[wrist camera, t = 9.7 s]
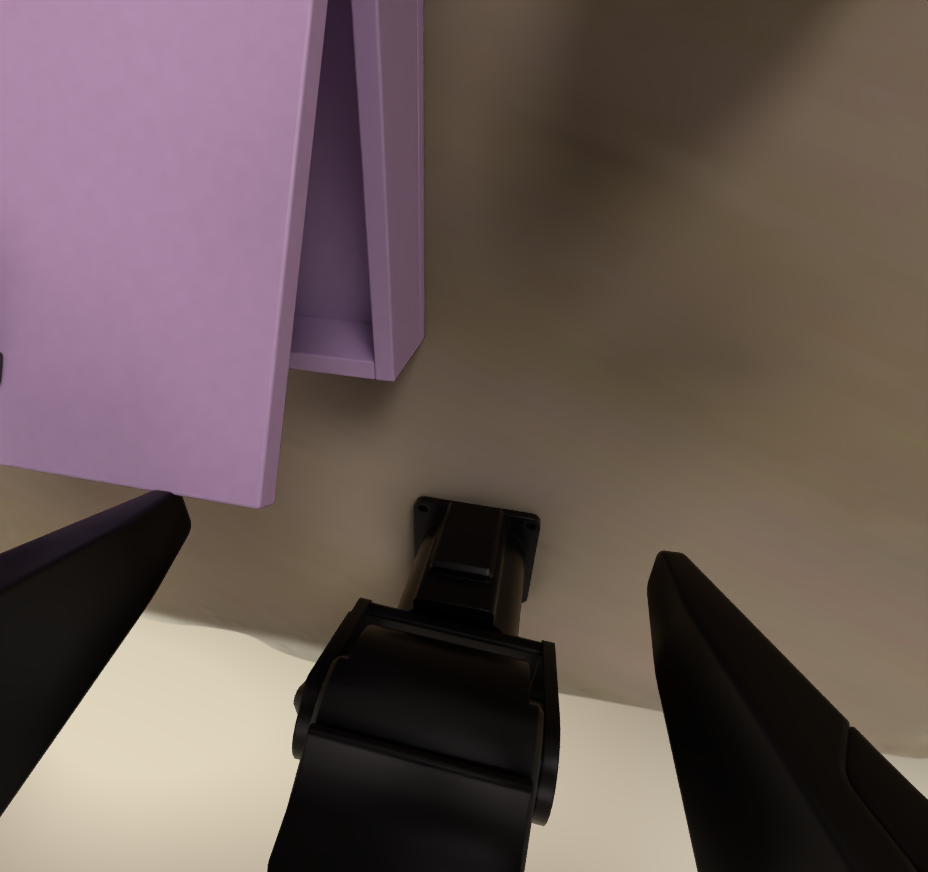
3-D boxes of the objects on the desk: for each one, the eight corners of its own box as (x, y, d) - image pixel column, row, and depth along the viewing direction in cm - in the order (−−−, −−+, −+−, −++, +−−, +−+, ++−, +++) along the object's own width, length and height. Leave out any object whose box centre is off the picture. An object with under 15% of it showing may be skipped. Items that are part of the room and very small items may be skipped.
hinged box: (424, 338, 20) (394, 382, 17) (83, 298, 22) (-7, 331, 19) (423, -198, 12) (364, -324, 9) (-109, -178, 14) (-325, -273, 11)
